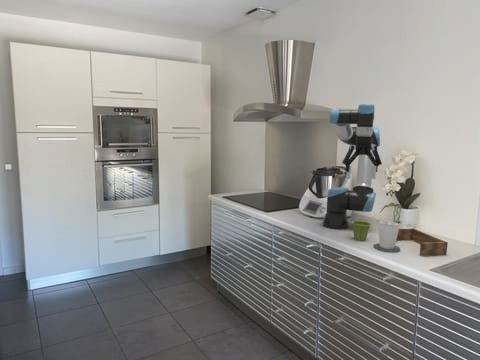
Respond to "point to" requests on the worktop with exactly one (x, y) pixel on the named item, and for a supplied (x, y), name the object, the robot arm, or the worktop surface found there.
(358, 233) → the plant pot
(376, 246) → the disc
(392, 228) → the cup
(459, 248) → the worktop surface
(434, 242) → the u-shaped wooden rail
